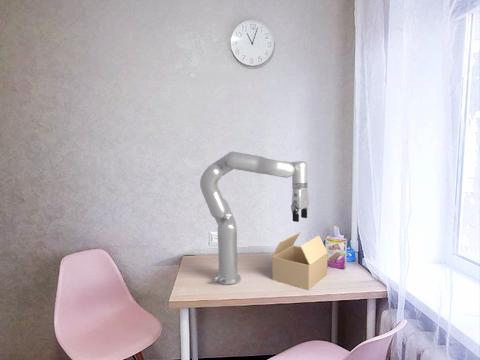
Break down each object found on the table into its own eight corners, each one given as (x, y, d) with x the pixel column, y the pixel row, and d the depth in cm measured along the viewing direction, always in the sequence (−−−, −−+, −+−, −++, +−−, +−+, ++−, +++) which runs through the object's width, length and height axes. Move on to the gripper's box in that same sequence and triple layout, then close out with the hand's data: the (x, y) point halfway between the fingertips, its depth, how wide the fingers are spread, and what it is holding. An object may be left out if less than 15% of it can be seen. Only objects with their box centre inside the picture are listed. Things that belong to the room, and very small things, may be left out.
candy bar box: (324, 266, 175) (324, 238, 173) (326, 263, 179) (326, 235, 177) (344, 270, 169) (345, 240, 167) (346, 266, 173) (347, 238, 172)
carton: (308, 290, 146) (308, 265, 145) (272, 279, 159) (272, 257, 157) (327, 274, 164) (327, 252, 162) (293, 266, 176) (293, 245, 175)
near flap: (309, 265, 145) (310, 264, 145) (299, 246, 147) (300, 245, 147) (326, 252, 162) (327, 252, 162) (318, 235, 164) (319, 235, 164)
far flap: (280, 242, 154) (280, 241, 154) (272, 256, 158) (272, 255, 158) (300, 232, 170) (299, 232, 171) (292, 245, 174) (292, 245, 174)
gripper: (298, 188, 147) (298, 224, 149) (314, 184, 161) (314, 217, 163) (284, 187, 152) (285, 222, 154) (300, 183, 165) (301, 215, 167)
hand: (300, 219), depth 158 cm, fingers open, 8 cm apart
